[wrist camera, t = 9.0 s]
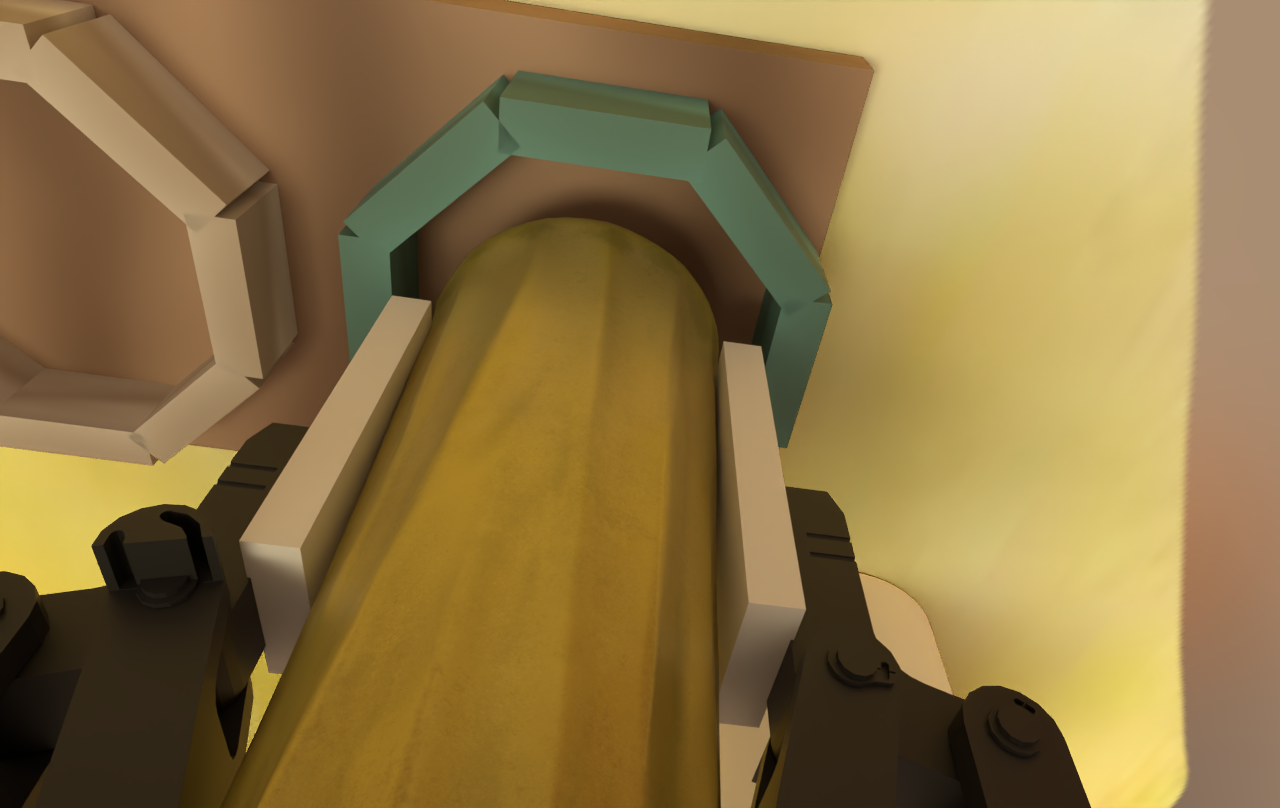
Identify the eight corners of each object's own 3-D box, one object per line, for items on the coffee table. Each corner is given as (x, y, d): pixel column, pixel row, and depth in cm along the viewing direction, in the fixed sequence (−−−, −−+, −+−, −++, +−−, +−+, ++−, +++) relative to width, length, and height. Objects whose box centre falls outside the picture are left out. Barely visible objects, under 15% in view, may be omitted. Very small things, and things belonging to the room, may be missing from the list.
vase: (457, 175, 15) (-297, 1321, 3) (760, 258, 16) (999, 1424, 4) (422, 421, 18) (-7, 1402, 7) (672, 479, 19) (668, 1449, 8)
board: (-28, 387, 22) (-122, 460, 20) (-250, -119, 15) (-442, -111, 13) (740, 487, 23) (748, 568, 21) (862, 56, 16) (898, 98, 14)
